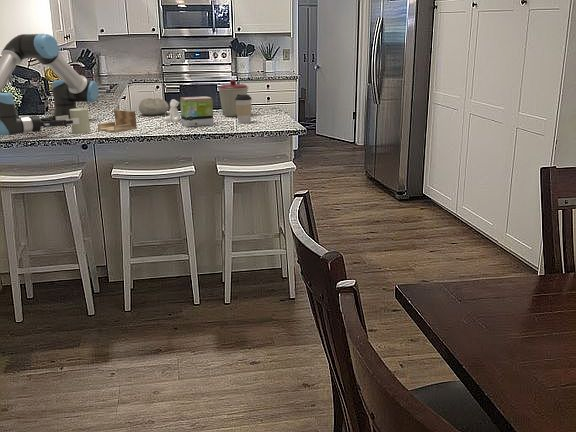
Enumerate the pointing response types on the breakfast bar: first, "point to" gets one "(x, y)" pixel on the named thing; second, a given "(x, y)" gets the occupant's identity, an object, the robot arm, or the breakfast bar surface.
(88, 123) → the can
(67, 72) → the robot arm
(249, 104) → the coffee cup
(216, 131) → the breakfast bar surface
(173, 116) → the white creature statuette
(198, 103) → the tea box
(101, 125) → the cradle
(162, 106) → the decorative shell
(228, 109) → the canister
